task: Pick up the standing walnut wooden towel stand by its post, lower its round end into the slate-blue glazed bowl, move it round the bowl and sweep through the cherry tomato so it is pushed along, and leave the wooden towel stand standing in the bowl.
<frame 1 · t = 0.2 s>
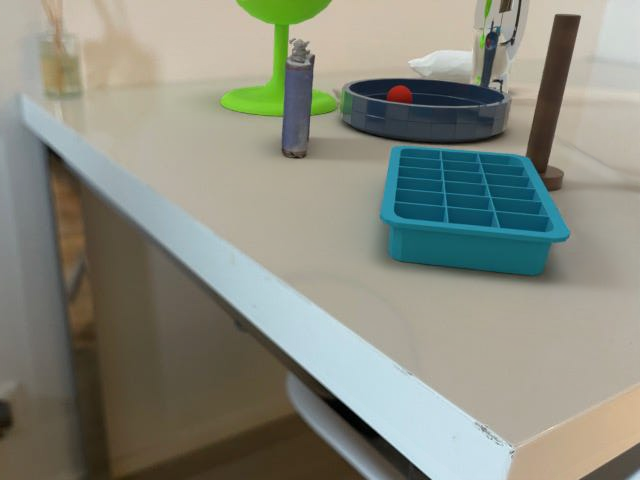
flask: (295, 148, 70), on the table
bowl: (420, 124, 81), on the table
wooden towel stand: (531, 182, 60), on the table
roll: (443, 88, 106), on the table
wineglass: (278, 105, 91), on the table
ice cube tray: (458, 222, 51), on the table
beer glass: (485, 103, 96), on the table
cherry tomato: (399, 98, 84), point 2 cm above the table, touching bowl
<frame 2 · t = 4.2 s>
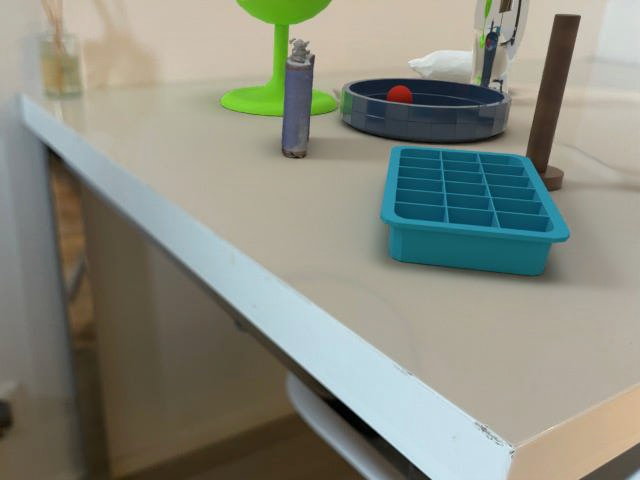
nothing on the table moved.
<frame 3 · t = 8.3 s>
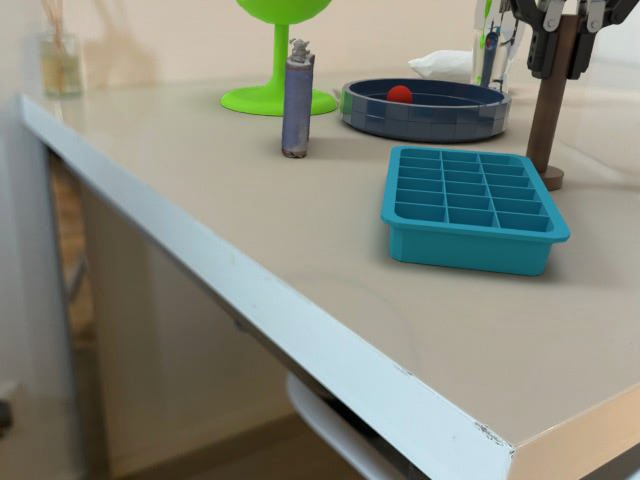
hand: (554, 77, 56), 9 cm above the table, tool pointing down, fingers closed on wooden towel stand
wooden towel stand: (531, 182, 60), on the table, touching gripper
everything else where it was.
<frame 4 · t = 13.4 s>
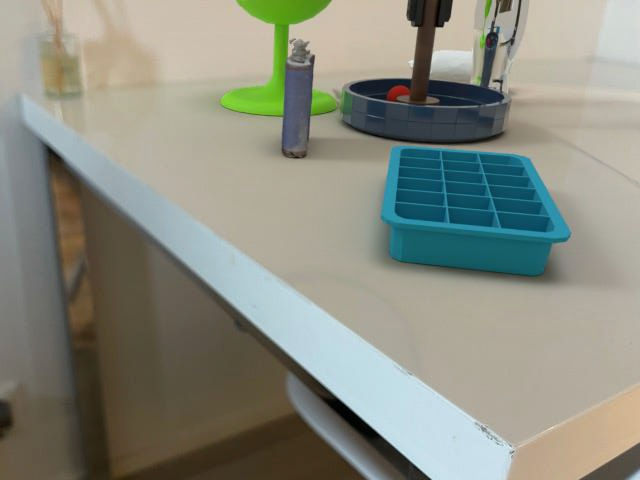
hand: (427, 26, 75), 11 cm above the table, tool pointing down, fingers closed on wooden towel stand
wooden towel stand: (416, 109, 79), point 2 cm above the table, touching gripper
everything else where it was.
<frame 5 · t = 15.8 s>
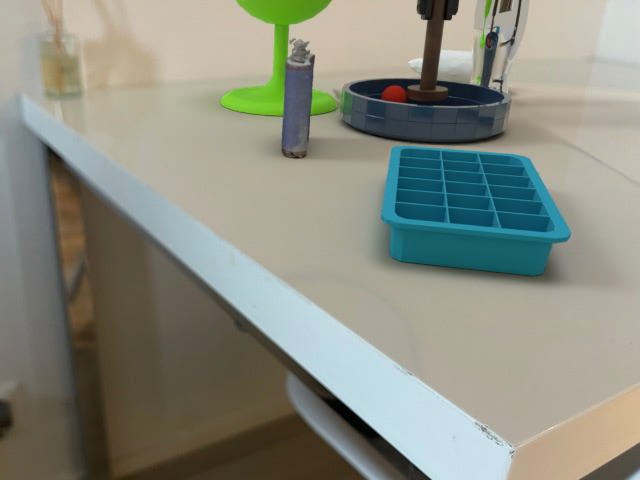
hand: (436, 19, 80), 12 cm above the table, tool pointing down, fingers closed on wooden towel stand
wooden towel stand: (426, 97, 84), point 2 cm above the table, touching cherry tomato, gripper
cherry tomato: (394, 98, 84), point 2 cm above the table, tilted 23°, touching bowl, wooden towel stand
everything else where it was.
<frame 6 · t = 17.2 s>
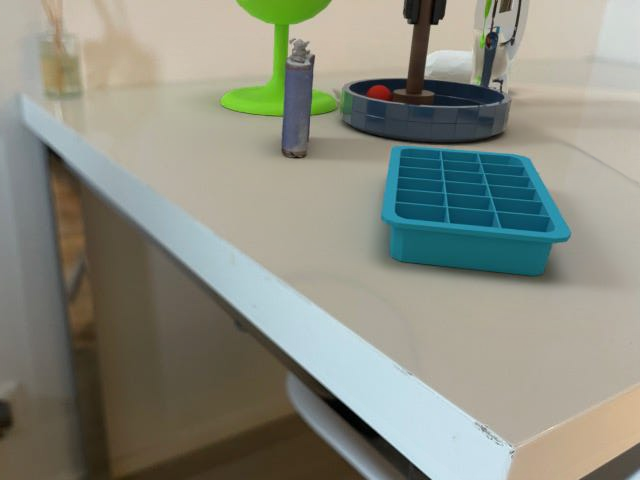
hand: (422, 23, 79), 11 cm above the table, tool pointing down, fingers closed on wooden towel stand
wooden towel stand: (412, 102, 83), point 2 cm above the table, touching gripper
cherry tomato: (378, 98, 84), point 2 cm above the table, tilted 88°, touching bowl
everything else where it was.
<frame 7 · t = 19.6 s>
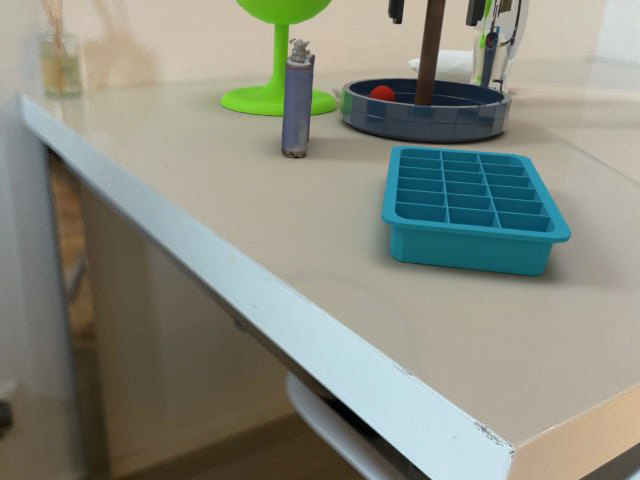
hand: (434, 24, 76), 11 cm above the table, tool pointing down, fingers open, 8 cm apart
wooden towel stand: (420, 119, 81), point 1 cm above the table, touching bowl
cherry tomato: (381, 98, 84), point 2 cm above the table, tilted 74°, touching bowl
everything else where it was.
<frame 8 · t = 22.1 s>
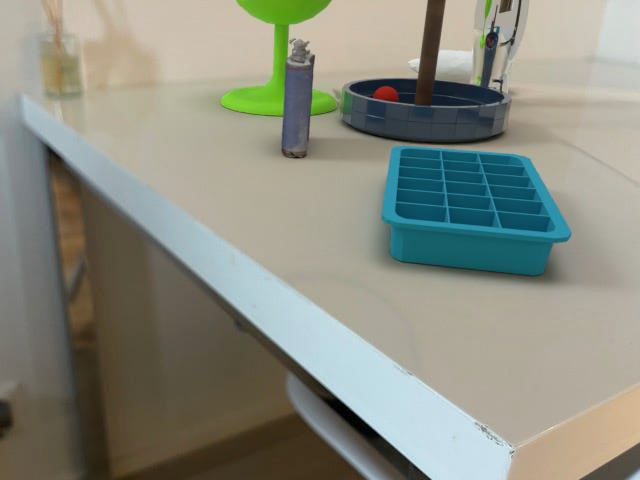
cherry tomato: (385, 99, 83), point 2 cm above the table, tilted 59°, touching bowl
everything else where it was.
at the end: wooden towel stand inside the target area in the bowl (0.1 cm from its centre), point 0.6 cm above the bowl's base; wooden towel stand tilted 0°; cherry tomato moved 2.0 cm from its start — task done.
